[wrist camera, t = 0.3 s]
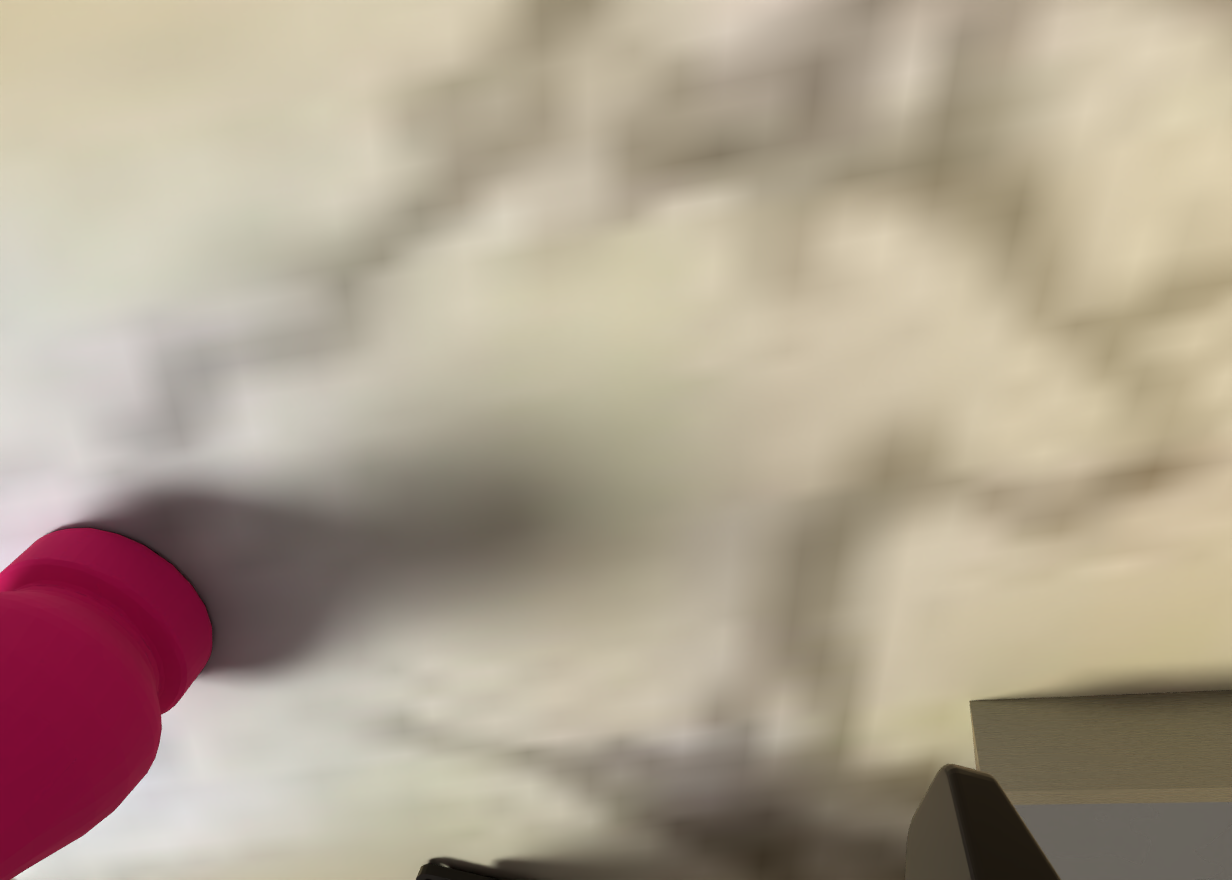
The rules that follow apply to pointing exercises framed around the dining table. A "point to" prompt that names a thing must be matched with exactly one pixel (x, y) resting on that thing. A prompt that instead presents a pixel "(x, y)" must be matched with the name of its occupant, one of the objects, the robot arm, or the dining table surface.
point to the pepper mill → (86, 681)
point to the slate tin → (1117, 780)
